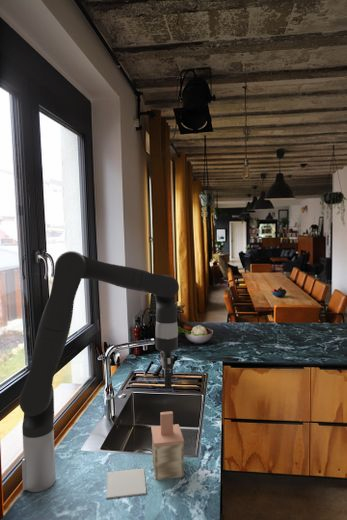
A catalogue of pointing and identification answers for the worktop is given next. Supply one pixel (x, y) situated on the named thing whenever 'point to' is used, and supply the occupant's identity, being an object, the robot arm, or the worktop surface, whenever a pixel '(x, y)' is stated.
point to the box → (168, 461)
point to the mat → (125, 483)
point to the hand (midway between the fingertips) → (166, 382)
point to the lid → (167, 431)
